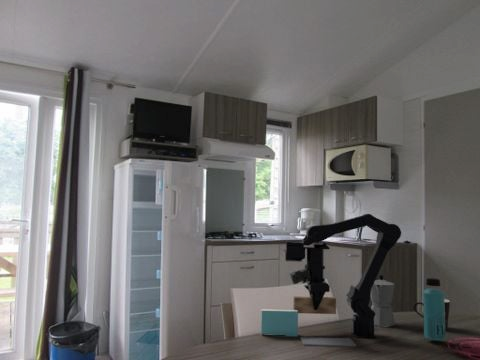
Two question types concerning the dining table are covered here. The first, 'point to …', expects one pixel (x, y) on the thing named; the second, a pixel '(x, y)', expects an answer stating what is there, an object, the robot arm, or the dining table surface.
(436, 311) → the beverage bottle
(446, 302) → the coffee mug
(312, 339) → the mat
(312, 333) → the dining table surface
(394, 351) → the dining table surface
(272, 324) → the tile
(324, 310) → the tan wooden block
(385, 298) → the coffeepot
